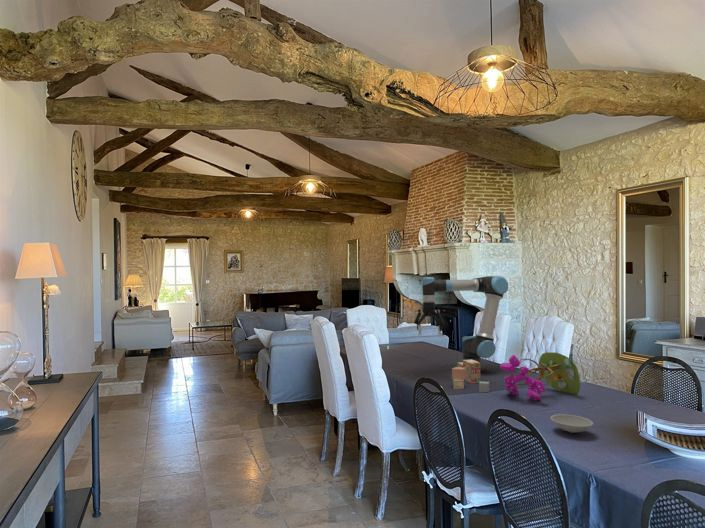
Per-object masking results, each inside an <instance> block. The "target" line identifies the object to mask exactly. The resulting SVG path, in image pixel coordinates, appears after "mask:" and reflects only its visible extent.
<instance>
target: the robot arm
mask: <svg viewBox="0 0 705 528" xmlns="http://www.w3.org/2000/svg"><path fill="white" fill-rule="evenodd" d="M421 282H422V283H421V285H422V287H421V289H422V308H421V309H420V308H419V309H418V310H417V311H418V312H417V315H416V317H415V320H414V322H413V323H414V325H416V329H417V331H418V336H422V323H423V321H424V319H425V318H426V317H429V318H431V317H432V318H433V319H434V321H435V322H436V324H438V325H437V337H441V336H442V332H443V326H444V325H445V324H446V323H445V320H444V318H443V316H442V314H441V310H440V309H436V303H435V302H436V301H435V300H436V296H435V293H449V292H460V291H461V292H462V291H463V292H468V291H469V292H470V291H472V292H473V293H483V294H484V295H485V297H486V298H485V303H484V306H483V312H482V317H481V321H480V326H479V331H478V333H477V334H476V335H470V336H468V335H467V336H465V335H464V336H463V337H462V338H461V339H462V340H461V343H462V345H461V346H462V360H461V362H463V360H471V359H472V360H475V361H478V362H479V363H480V368H481V372H483V371H484V365H483V362H482V359H489V358H491V357H492V356H493V355H494V354H495V352H496V344H495V343H494V341H495V339H494V335H493V334H494V330H495V325H496V319H497V315H498V310H499V305H500V301H501V300H502V299H503V298H504V294H506V293H507V292H508V291H509V281H508V280H507V279H506V278H505V277H503V276H500V275H492V276H491V275H490V276H489V275H488V276H487V275H486V276H481V277H473V278H471V279H435V277H428V276H427V277H423V278H422V281H421Z"/></svg>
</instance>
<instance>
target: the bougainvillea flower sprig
mask: <svg viewBox="0 0 705 528" xmlns="http://www.w3.org/2000/svg"><path fill="white" fill-rule="evenodd" d="M524 361H530V362H532V363H534V365H533V366H532V368H529V367H527V366H525V365H524V366H520V365H521V363H523V362H524ZM499 366H500V367H499V368H500V370H502V371H504V372H508V373H511V374H509V375H507V376H504V377H503V378H504V381H503V383H504V386H505V387H504V388H505V390H506V392H507V393H509V394H510V395H512V396H517V395H519V393H520V392H519V389H518V388H517V386H525V385H526V386H527V388H528V390H527V391H526V395H527V397H529V399H531V400H532V401H539V400H541V396H542V395H541V394H544V393H545V392H546V386H549V387H551V388H552V389H553V390H555V391H557V390H558V392H561V391H562V392H561V393H565V392H566V393H565V394H569V393H570V395H575V396H577V395H579V392H580V389H581V379H580V373H579V372H580V371H579V369H578V367H577V365H576V364H575V362H574V361H573V360H572V359H571V358H570V357H568V356H566V355H564V354H562V353H559V352H551V351H550V352H548V351H547V352H543V353H542V354H541V355H540V357H539V360H538V362H537V361H535V360H533V359H531V358H522V359H519V357H517V356H516V355H515V354H512V355H511V356H510V357H509V359H508V362H502V363H501V364H499ZM519 366H520V367H519ZM535 366H537V367H535ZM533 367H534V368H533ZM517 368H519V370H518V371H519V373H517V374H515V375H514V374H513V373H515V370H516V369H517ZM535 373H538V374H539V377H538V378H536V379H535V378H533V377H530V376H531V375H534V374H535ZM528 376H529V377H528ZM543 379H544V380H545V381H546V383H547V384H546V385H545V384H544V383H543ZM523 381H525V382H524V383H521V382H523Z"/></svg>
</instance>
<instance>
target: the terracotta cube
mask: <svg viewBox="0 0 705 528" xmlns="http://www.w3.org/2000/svg"><path fill="white" fill-rule="evenodd" d="M454 379H455V380H464V379H466V368H462V367H457V366H455V367H453V368H451V380H454ZM464 381H465V380H464Z"/></svg>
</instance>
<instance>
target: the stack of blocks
mask: <svg viewBox="0 0 705 528" xmlns="http://www.w3.org/2000/svg"><path fill="white" fill-rule="evenodd" d="M462 360H463V359H462ZM456 367H462V368H466V379H464V382H468V383H469V384H479V382H480V381H482V379H481V373H482V371H481V368H480V363H479V362H478V361H475V360H472V359H471V360H463V362H462V361H461V362H460V361H459V362H456Z"/></svg>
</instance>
